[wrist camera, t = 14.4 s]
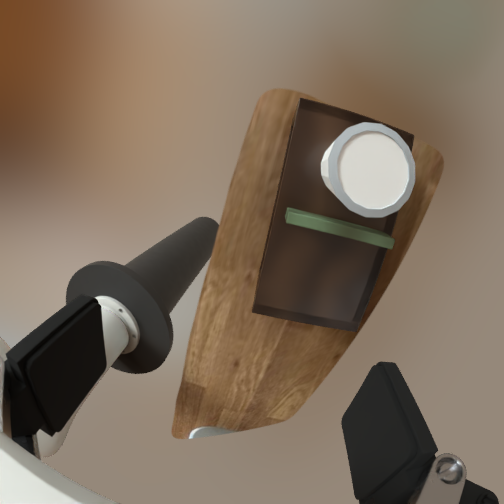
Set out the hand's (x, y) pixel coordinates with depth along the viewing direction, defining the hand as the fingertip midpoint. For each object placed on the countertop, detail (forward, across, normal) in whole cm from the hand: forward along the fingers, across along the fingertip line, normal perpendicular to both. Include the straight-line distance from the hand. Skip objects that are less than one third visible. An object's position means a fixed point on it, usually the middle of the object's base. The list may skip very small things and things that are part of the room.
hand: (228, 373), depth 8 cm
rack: (+30, -7, -3) cm, 31 cm away
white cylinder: (+19, -7, -8) cm, 22 cm away
